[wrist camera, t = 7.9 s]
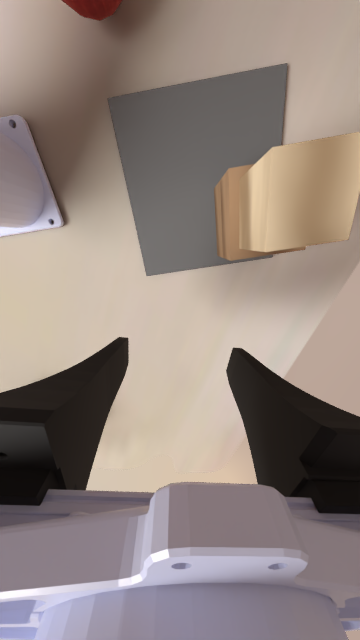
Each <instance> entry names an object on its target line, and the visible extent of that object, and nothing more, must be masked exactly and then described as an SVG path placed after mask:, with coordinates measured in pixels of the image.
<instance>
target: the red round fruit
mask: <svg viewBox="0 0 360 640" xmlns="http://www.w3.org/2000/svg"><path fill="white" fill-rule="evenodd" d="M62 1H63V2H65V3H66V4H67V5H68V6H70V7H71V8H72V9H73V10H75V11H76V12H77V13H78V14H80V15H81V16H83V17H86V18H91V19H95V20H102V19H104V18H106V17H109V16H111V15H113V13H114V12H115V10H116V9H117V8H118V6H119V5H120V3H121V2H122V0H62Z"/></svg>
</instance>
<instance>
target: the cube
mask: <svg viewBox="0 0 360 640" xmlns="http://www.w3.org/2000/svg"><path fill="white" fill-rule="evenodd" d="M359 193H360V132H356V133H350V134H345V135H339V136H333V137H328V138H322V139H316V140H311V141H305V142H299V143H294V144H288V145H283V146H277V147H272V148H271V149H270V150H269V151H268V152H267V153H266V154H265V155H264V156H263V157H262V158H261V159H260V160H259V161H258V162H257V163H256V164H254V165H253V166H252V167H251V168H250V169H249V170H248V171H247V172H246V173H245V174H244V175H243V176H242V177H241V178H240V179H239V249H245V250H252V251H260V252H271V251H277V250H284V249H291V248H297V247H304V246H310V245H317V244H323V243H330V242H336V241H343V240H348V239H349V235H350V231H351V227H352V222H353V218H354V214H355V210H356V205H357V201H358V197H359Z"/></svg>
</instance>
